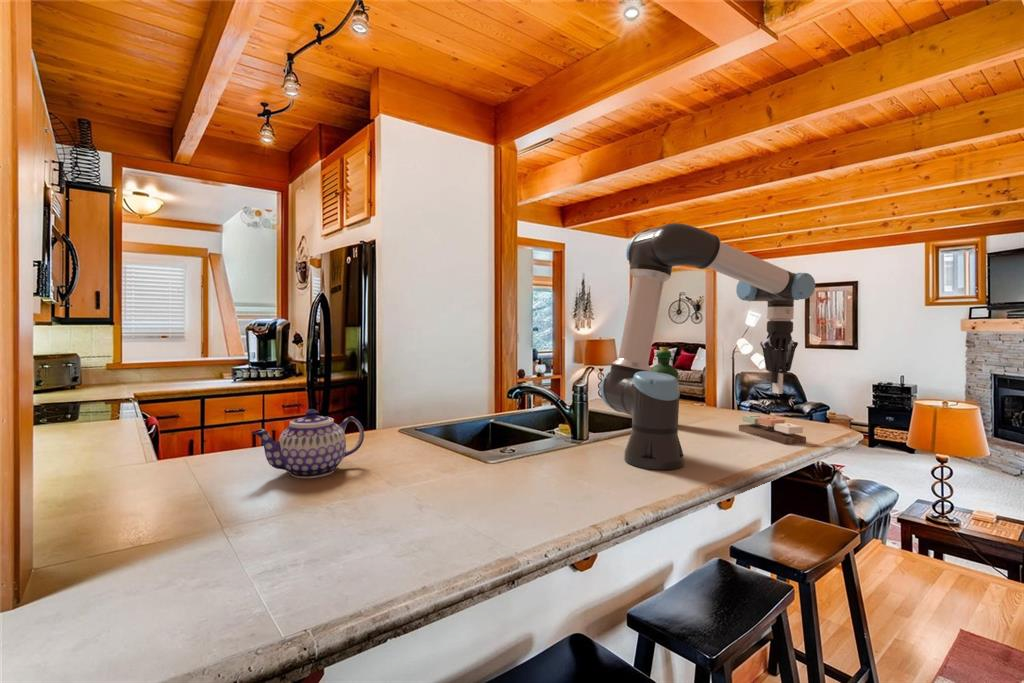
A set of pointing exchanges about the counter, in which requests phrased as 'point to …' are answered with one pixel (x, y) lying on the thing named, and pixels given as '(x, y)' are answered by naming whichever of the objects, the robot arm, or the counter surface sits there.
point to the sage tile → (751, 419)
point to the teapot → (309, 445)
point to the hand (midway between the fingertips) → (777, 393)
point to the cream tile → (788, 428)
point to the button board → (772, 434)
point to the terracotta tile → (770, 422)
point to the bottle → (665, 363)
